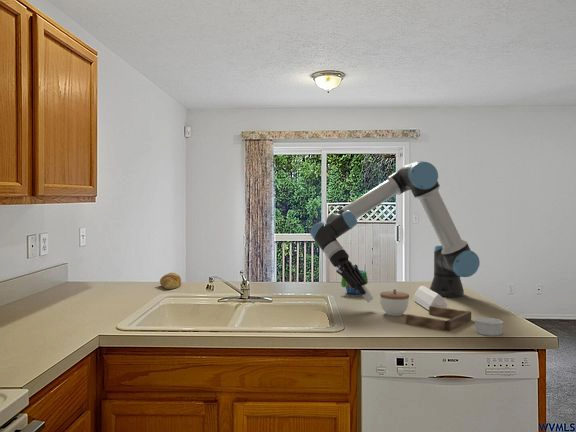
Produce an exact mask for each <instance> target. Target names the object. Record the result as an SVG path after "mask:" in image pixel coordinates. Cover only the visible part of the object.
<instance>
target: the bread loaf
mask: <svg viewBox="0 0 576 432" xmlns="http://www.w3.org/2000/svg"><path fill="white" fill-rule="evenodd" d="M159 284H160V285H161V287H162V288H164V289H165V290H173V289H177V288H180V287H181V286H182V278H181V276H180V275H179V274H178V273H175V272H169V273H166V274H164V275H163V276H162V277H161V278H160V280H159Z"/></svg>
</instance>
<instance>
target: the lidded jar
mask: <svg viewBox="0 0 576 432" xmlns="http://www.w3.org/2000/svg"><path fill="white" fill-rule="evenodd" d="M379 296H380V305H381V308H382V310H383V311H384V313H385V314H386V315H387V316H394V317H400V316H402V315H403V314H404V313H405V312H406V311H407V310H408V307H409V301H410V299H409V298H410V294H409V293H407V292H404V291H402V292H401V291H397V289H396V288H394V289H392V290H388V291H382V292H380V294H379Z"/></svg>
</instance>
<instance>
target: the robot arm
mask: <svg viewBox="0 0 576 432" xmlns="http://www.w3.org/2000/svg"><path fill="white" fill-rule="evenodd" d="M438 179H439V172H438V169H437V168H436V166H435V165H434V164H433V163H431V162H428V161H420V160H419V161H415V162H410V163H407V164H405V165H403V166H402V167H400V168H399V169H397V170H396V171H395V172H393V173H392V174H391V175H389V176H387V178H386V180H385V181H383V182H382V183H380V184H379V185H377V186H375V187H374V188H373V189H371V190H369V191H367V192H366V193H365V194H363V195H361V196H360V197H358V198H357V199H354V200H353V201H351V202H350V203H348V204H347V205H345V206H344V207H341V208H340V209H339V210H337V211H336V212H334V213H331V214H329V215H328V216H327V217H326V220H325V222H326V223H324V222H323V221H319V222H316V223H315V224H313V226H311V228H310V230H309V234H310V235H311V237H312V239H313V240H314V242H315V243H316V244H317V245H318V247H319V248H320V249H321V251H322V252H323V253H324V254H325V257H327V258H328V260H329V261H330V263H331V265H332V266H333V267H335V268H337V269H336V273H338V275H340V276H341V278H342V277H343V278H344V279H345V280H346V281H347V282H348V284H349V285H350V286H351V287H352V288H356V289H355V290H357V289H358V290H359V292H360V294H361V295H362V297H363V298H364V299H365V301H366V302H367V303H370V302H372V300H374V298H375V297H374V296H373V295H372V293H371V292H370V291H369V289H368V288H367V287H366V285H367V284H366V281H365V279H364V278H363V276H362V274H361V273H360V271H359V270H360V269H359V267H358V264H353V263H352V262H351V261H350V260H349V258H350V256H349V255H350V254H348V252H347V251H346V249H344V247H343V246H342V245H341V243H340V242H339V241H338V240H337V239H338V238H339V237H341V236H342V235H344V234H345V233H348V231H350V230H352V229H353V228H354V227H355V226H357V224H358V219H359V218H361V217H362V216H364V215H366V214H367V213H369V212H370V211H372V210H374V208H375V209H376V207H377V208H378V206H380V205H382V204H383V203H385V202H386V201H388V200H390V199H391V198H392V197H394V196H395V195H398V196H400V195H402V194H403V193H405V192H407V191H411V193H412V195H413V198H415V199H418V200H419V201H420V203H421V205H422V208H423V209H424V212H425V214H426V215H427V216H426V217H428V220H429V222H430V224H431V226H432V228H433V230H434V232H435V234H436V236H437V239H438V240H439V243H440V244H436V245H435V246H434V250H433V251H434V252H433V254H434V255H433V257H434V258H433V279H432V281H431V283H430V287H429V289H430V290H432V291H434V292H436V293H438V294H439V295H440V296H441V297H445V298H447V297H450V298H455V297H456V298H458V297H463V296H464V295H465V290H464V287H463V283H462V279H461V278H469V277H471V276H473V275H474V274H476V273H477V272H478V270H479V267H480V265H481V264H480V263H481V262H480V258H479V255H478V254H477V253H476V252H475V251H473V250H471V247H470V245H469V243H468V241H466V240H464V239H462V238H461V236H460V234H459V231H458V229H457V227H456V225H455V223H454V221H453V219H452V216H451V214H450V212H449V211H448V208H447V206H446V204H445V203H444V200H443V198H442V196H441V194H440V192H439V189H440V186H441V185H440V184H439V183H440V182H439V181H438Z"/></svg>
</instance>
